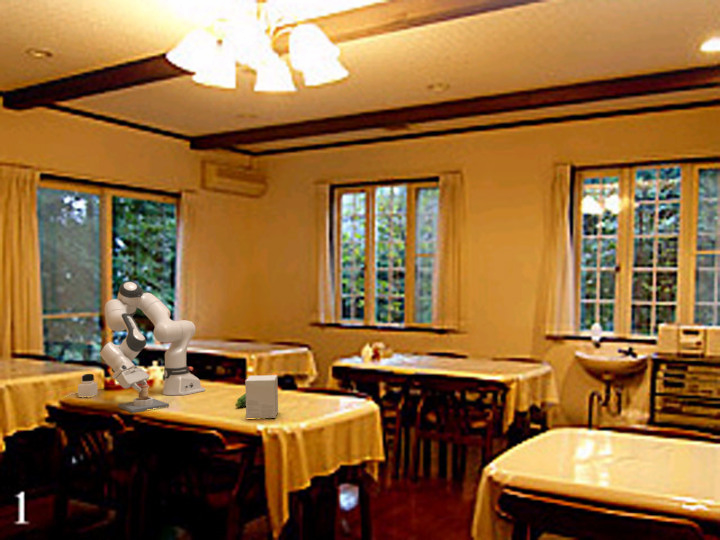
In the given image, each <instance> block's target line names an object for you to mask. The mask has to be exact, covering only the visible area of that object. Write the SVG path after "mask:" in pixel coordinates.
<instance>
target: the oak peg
mask: <svg viewBox="0 0 720 540" xmlns="http://www.w3.org/2000/svg"><path fill="white" fill-rule="evenodd" d="M138 386H139V387H141V388H142V389H143V390H142V391H141V392H138V398H139V400H148V397H149V388H148V386H149V384H147V385H142V384H138Z"/></svg>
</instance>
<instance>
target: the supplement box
mask: <svg viewBox="0 0 720 540" xmlns="http://www.w3.org/2000/svg"><path fill="white" fill-rule="evenodd" d="M278 381H279V380H278V374H273V375H249V376H248V377H247V378H246V379H245V381H244V382H245V383H244V385H245V393H246V407H245V419H246V418H275V417H276V418H277V416H278V414H277V413H279V395H278V393H279V391H278V386H279V385H278ZM276 415H277V416H276ZM276 418H275V419H276Z"/></svg>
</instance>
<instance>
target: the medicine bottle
mask: <svg viewBox="0 0 720 540" xmlns="http://www.w3.org/2000/svg"><path fill="white" fill-rule="evenodd" d="M80 377H81V378H80V379H81V382H80V383H79V384H78V385H77V397H78V396H83V397H84V396H86V397H87V396H93V395H96V394H98V382H97V381H94V380H95V376H94V374H93V373H84V374H82V375H81V376H80Z"/></svg>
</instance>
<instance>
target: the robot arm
mask: <svg viewBox="0 0 720 540" xmlns="http://www.w3.org/2000/svg"><path fill="white" fill-rule="evenodd" d="M137 309H139V310H141V311H142V313H143V314H144V315H145V316H146V317H147V318H148V320H150V321H151V323H152V324H153V326H154V329H153V337H154V339H155V340H156V341H157V342H158V343H159V342H160V343H170V346H169V347H168V349H166V351H165V353H164V368H163V370H164V371H163V377H164V384H163V389H162V393H161V394H162V395H165V396H187V395H190V394H195V393H200V392H201V393H202V392H205V391H206V388H205V387H203V386H202V385H201V380H200V379H199V378H198V377H197V376H195V375H194V374H193V373H191V372H190V371H193V370H194V367H193V366H188V365H187V352H188V351H187V350H188V347H189V345H190V341H191V339H192V338H193V337H194V336H195V333H196V325H195V324H194V322H193V321H191V320H187V319H186V320H185V319H182V320H181V319H180V320H173V319H171V318H170V317H171V310H170V309H169V308H168V307H167V305H165V304H164V302H163V301H161V300H160V298H158V297H157V296H156V295H154V294H152V293H151V292H144V289H143V288H142V287H141V286H140V285H139V284H137V283H136V282H134V281H124V282H123V283H121V285H120V286H119V289H118V293H117V298H112V299H110V300H108V301H106V303H105V305H104V318H105V323H106V325H107V327H108V328H109V329H110V330H112V331H114V332H123V331H125V330H126V332H127V335H126V337H125V339H124V340H123V341H122V342H121V344H114V342H112V341H108V342H107V343H105V345H103V346H102V347H101V349H100V350H99V354H100V357H101V358H102V360H103V361H104V362H105V364H107V365H108V366H109V367H110V368H112V370H113V372H114V373H113V374H112V376H111V378H112V379H113V380H115V381H116V382H117V384H119V385H120V387H122V388H123V389H126V390H127V389H129V388H131V387H132V389H134V390H136V391H137V392H138V393H139V392H141V391H142V390H143V389H142V388H141V387H139V385H148V383H147V381H148V380H149V379H150V375H149V373H148V372H146V371H145V370H144V369H143V368H141V367H138V366H136V365H135V364H134V363H133V361H134V359H135V358H136V357H137V356H138V355H139V353H140V352H142V350H143V349H144V348H145V347H146V345H147V339H146V337H145V336H144V334H143V333H142V331H141V330H140V328H139V326H138V324H137V322H136V320H135V319H134V315H136V312H137ZM149 388H150V386H149V385H148V389H149Z"/></svg>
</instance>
